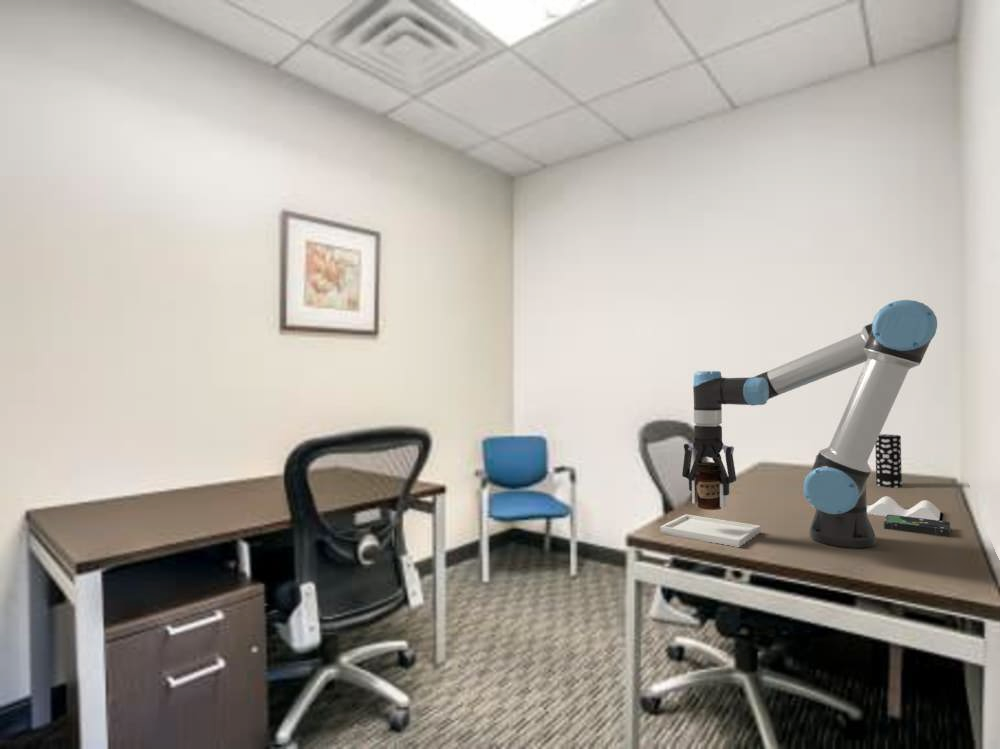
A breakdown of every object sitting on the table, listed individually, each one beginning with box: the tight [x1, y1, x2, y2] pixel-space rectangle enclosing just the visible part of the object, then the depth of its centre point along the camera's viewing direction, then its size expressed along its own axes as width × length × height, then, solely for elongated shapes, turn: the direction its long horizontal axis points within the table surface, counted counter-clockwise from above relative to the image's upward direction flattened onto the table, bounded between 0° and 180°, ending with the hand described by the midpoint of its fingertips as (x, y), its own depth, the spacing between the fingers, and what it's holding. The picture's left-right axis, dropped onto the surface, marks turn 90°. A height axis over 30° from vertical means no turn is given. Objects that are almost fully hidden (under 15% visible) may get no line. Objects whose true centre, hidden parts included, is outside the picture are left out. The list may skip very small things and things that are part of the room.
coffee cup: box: [694, 461, 723, 511], centre depth 158 cm, size 9×8×13 cm
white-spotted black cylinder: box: [874, 433, 903, 489], centre depth 219 cm, size 8×8×20 cm
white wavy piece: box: [810, 495, 944, 521], centre depth 180 cm, size 13×35×5 cm, turn 50°
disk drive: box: [883, 515, 951, 538], centre depth 158 cm, size 10×3×15 cm
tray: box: [659, 513, 762, 548], centre depth 158 cm, size 22×18×2 cm
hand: (709, 504), depth 158 cm, fingers closed on coffee cup, 7 cm apart
